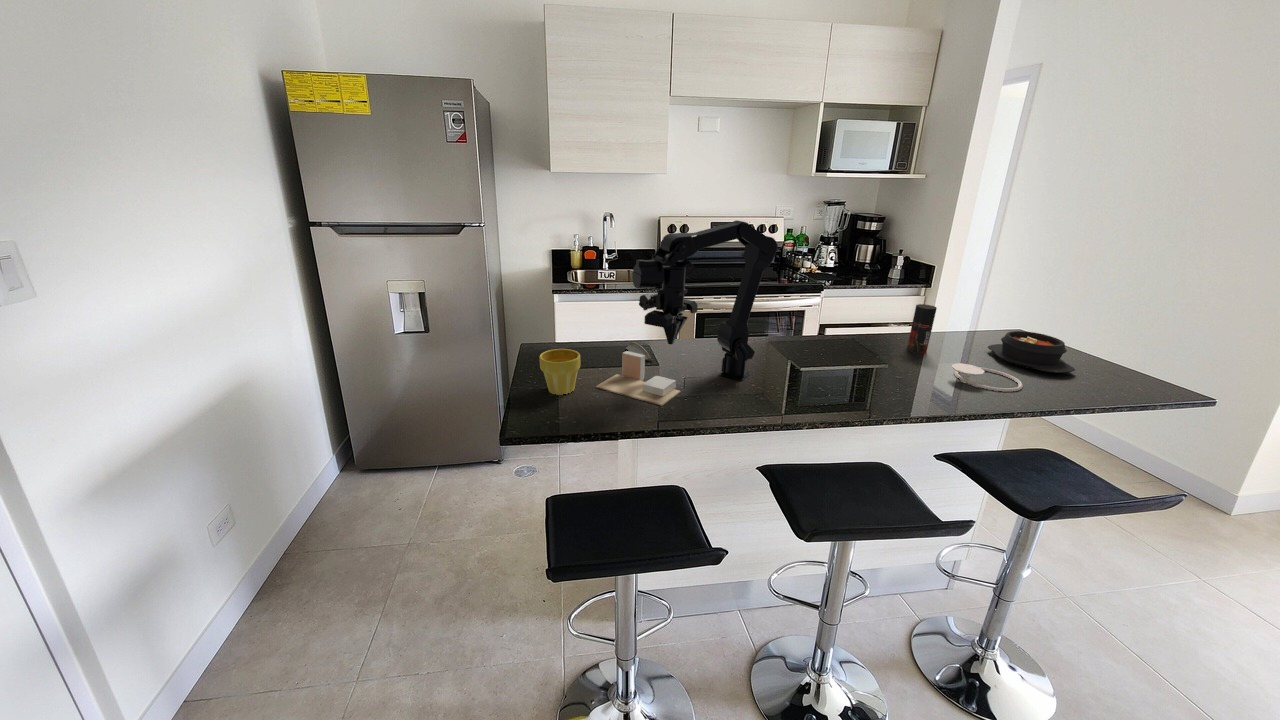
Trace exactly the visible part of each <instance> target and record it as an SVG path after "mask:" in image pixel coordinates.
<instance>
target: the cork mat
mask: <svg viewBox="0 0 1280 720" xmlns="http://www.w3.org/2000/svg"><path fill="white" fill-rule="evenodd" d="M645 382H646V381H644V380H642V381H641V380H637V379H633V378H629V377H625V376H622V374H621V375H620V374H618V373H616V374H615V375H613V376H611V377H609V378H608V379H606V380H604V381H603V382H601V383H599V384H597V385H595V388H597V389H600V390H604V391H607V392H611V393H615V394H618V395H622V396H625V397H629V398H632V399H636V400H639V401H642V402H647V403H650V404H653V405H657V406H660V407H663V406H664V405H666V404H667V403H668V402H670V400H672V399H673V398H675V397H676V396H677V395H679V394H680V393H681V390H679V389H676V388H674V389H673V390H671V391H670V392H668V393H667V394H666V395H664V396H659V395H655V394H651V393H648V392H644V391H643V384H644V383H645Z"/></svg>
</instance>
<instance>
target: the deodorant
mask: <svg viewBox="0 0 1280 720" xmlns="http://www.w3.org/2000/svg"><path fill="white" fill-rule="evenodd" d="M915 305H916V306H915V309H914V314H913V319H912V323H911V327H910V332H909V336H908V337H909V338H908V342H907V345H906V346H907V347H906V351H908V352H910V353H913V354H919V355H920V354H921V355H922V354H925V355H926V354H927V353H928V348H929V342H930V337H931V334H932V331H933V326H934V321H935V317H936V313H937V309H938V308H937V307H936V306H935V305H929V304H923V303H922V304H921V303H918V304H915Z"/></svg>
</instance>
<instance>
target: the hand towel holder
mask: <svg viewBox="0 0 1280 720" xmlns="http://www.w3.org/2000/svg"><path fill="white" fill-rule="evenodd" d="M951 367H952V369H953V370H954V375H955V377H956V379H958V378H959V379H960V380H959V379H958V380H959V381H960V382H961V381H962V382H966V383H965V384H967V383H968V384H967V385H969V384H971V385H970V386H972V385H974V386H973V387H975V386H977V387H976V388H978V387H981V388H980V389H982V388H984V389H983V390H986V389H988V390H987V391H991V390H994V391H993V392H998V391H1002V392H1003V393H1013V391H1014V392H1018V391H1020V390H1022V389H1023V383H1022V382H1021V380H1020V379H1018V378H1017V377H1015V376H1013V375H1011V374H1009V373H1006V372H1003V371H999V370H996V369H991V368H986V367H980V366H975V365H973V364H970V363H969V364H966V363H961V362H959V363H953V364H952V365H951ZM985 371H990V372H994V373H997V374H996V375H998V374H1001V375H1003V376H1002V377H1004V376H1006V377H1005V378H1007V377H1008V378H1007V379H1009V378H1010V379H1009V380H1011V379H1012V380H1011V381H1013V380H1014V382H1015V383H1016V382H1017V383H1018V384H1017V383H1016V384H1017V385H1018V386H1017V387H1011V388H1008V387H1007V388H1006V387H1005V388H1003V387H996V386H988V385H984V384H981V383H980V384H979V383H977V382H974V381H972V380H969V378H970V376H981V375H983V374H984V373H986V372H985ZM990 372H989V373H990ZM960 373H961V374H962V376H961V375H960ZM994 373H993V374H994ZM1001 375H1000V376H1001ZM962 382H961V383H962ZM1002 392H1001V393H1002Z"/></svg>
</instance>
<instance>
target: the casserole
mask: <svg viewBox="0 0 1280 720" xmlns="http://www.w3.org/2000/svg"><path fill="white" fill-rule="evenodd" d="M1000 340H1001V343H997V344H995V343H994V344H990V345H988V346H987V349H989V350H990V351H992V352H993V353H994V354H995V355H996V356H997V357H999V358H1000V359H1003V360H1004V361H1007V362H1009V363H1010V364H1012V365H1016V366H1019V367H1021V366H1022V368H1026V367H1027V369H1031V368H1032V369H1033V370H1034V369H1035V370H1039V371H1042V372H1046V373H1054V374H1057V373H1058V374H1065V373H1066V374H1067V373H1072V372H1075V370H1076V369H1075V367H1073V366H1072V365H1070V364H1069V363H1066V362H1065V361H1064V360H1063V359H1062V356H1063V354H1066V353H1067V351H1068V350H1067V348H1066V345H1065V343H1066V342H1064V340H1062V339H1059V338H1057V337H1054V336H1051V335H1048V334H1044V333H1039V332H1033V331H1023V330H1021V331H1020V330H1018V331H1017V330H1013V331H1011V330H1010V331H1008V332H1006V334H1005V335H1004V336H1003V337H1001V338H1000Z"/></svg>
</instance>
